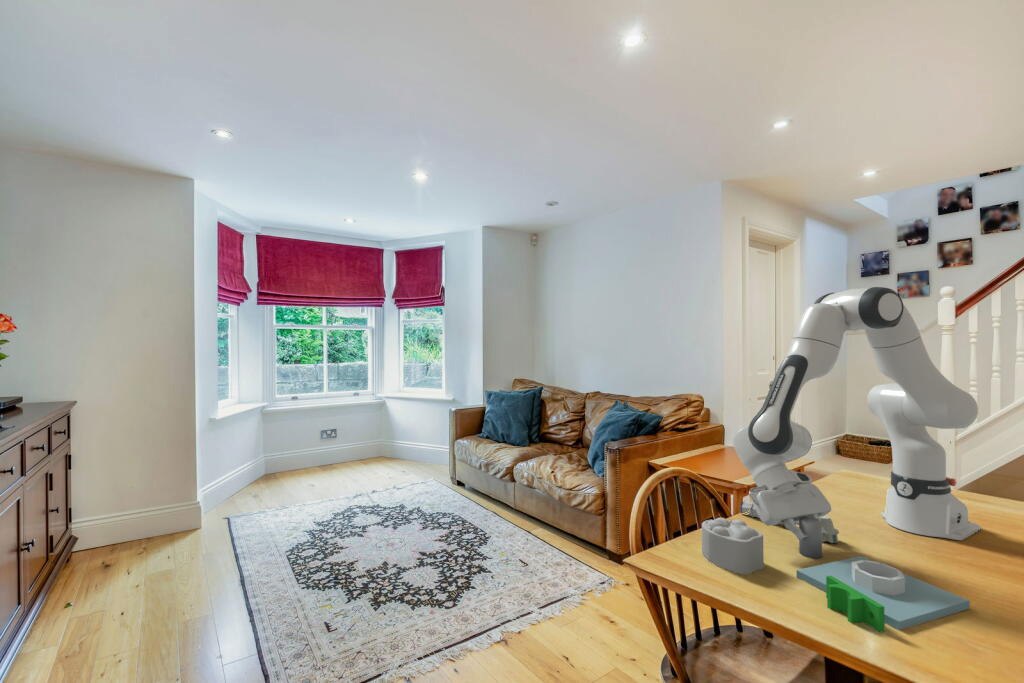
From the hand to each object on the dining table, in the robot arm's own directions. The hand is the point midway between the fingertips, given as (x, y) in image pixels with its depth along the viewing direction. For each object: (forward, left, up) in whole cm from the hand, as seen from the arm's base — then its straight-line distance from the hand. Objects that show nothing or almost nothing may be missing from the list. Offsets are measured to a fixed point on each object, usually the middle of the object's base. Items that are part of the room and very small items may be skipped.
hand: (812, 536), depth 112 cm
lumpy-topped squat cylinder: (+20, -5, -5) cm, 22 cm away
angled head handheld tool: (-9, -15, -5) cm, 18 cm away
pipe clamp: (+16, +20, -5) cm, 26 cm away
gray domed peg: (0, -1, -4) cm, 4 cm away
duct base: (+3, +16, -4) cm, 17 cm away
